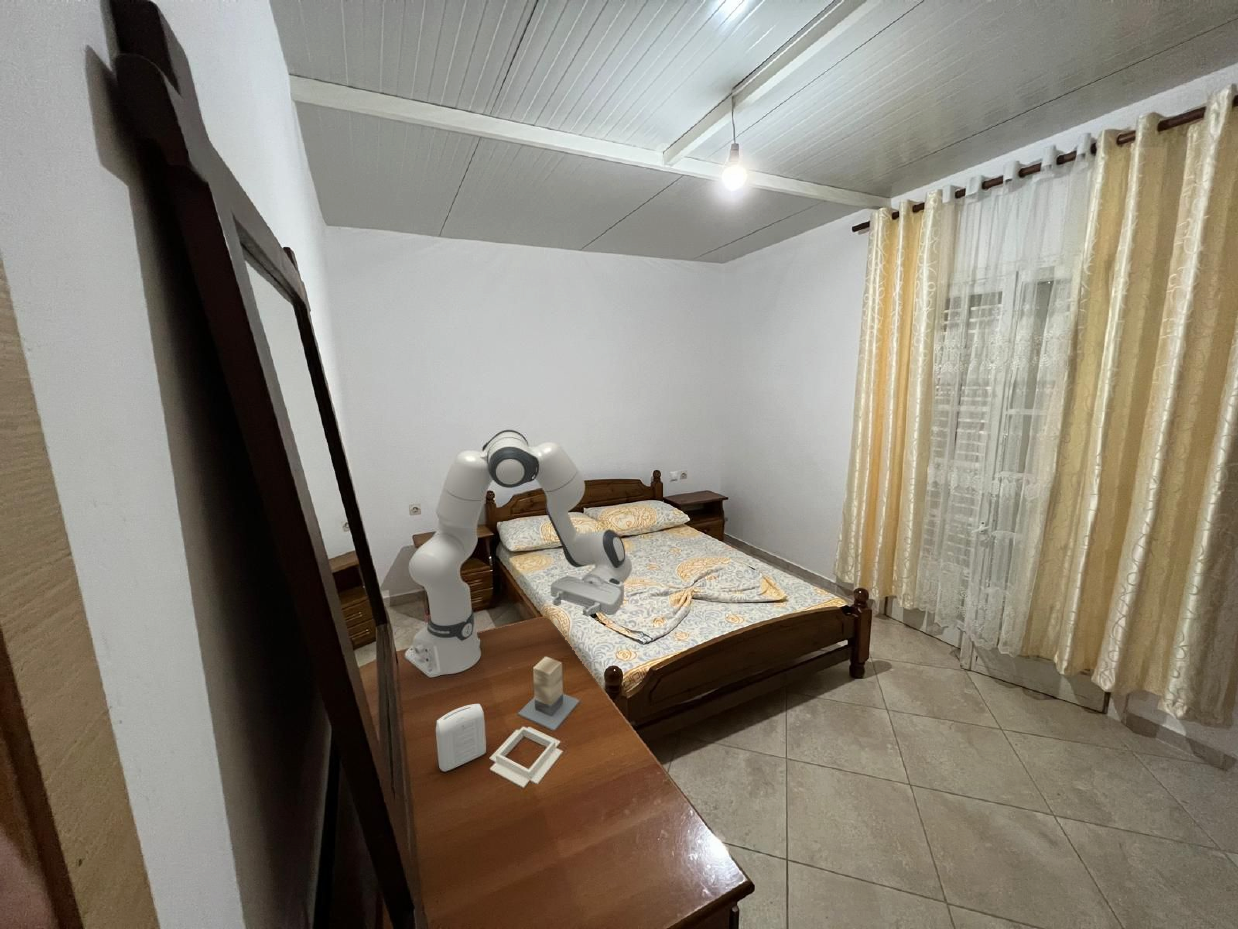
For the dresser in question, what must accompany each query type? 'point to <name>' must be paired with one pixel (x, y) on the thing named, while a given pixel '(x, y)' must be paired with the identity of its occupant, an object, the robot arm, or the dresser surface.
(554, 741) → the flanged square frame
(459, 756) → the photo printer
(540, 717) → the slate mat
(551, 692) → the block
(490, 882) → the dresser surface
